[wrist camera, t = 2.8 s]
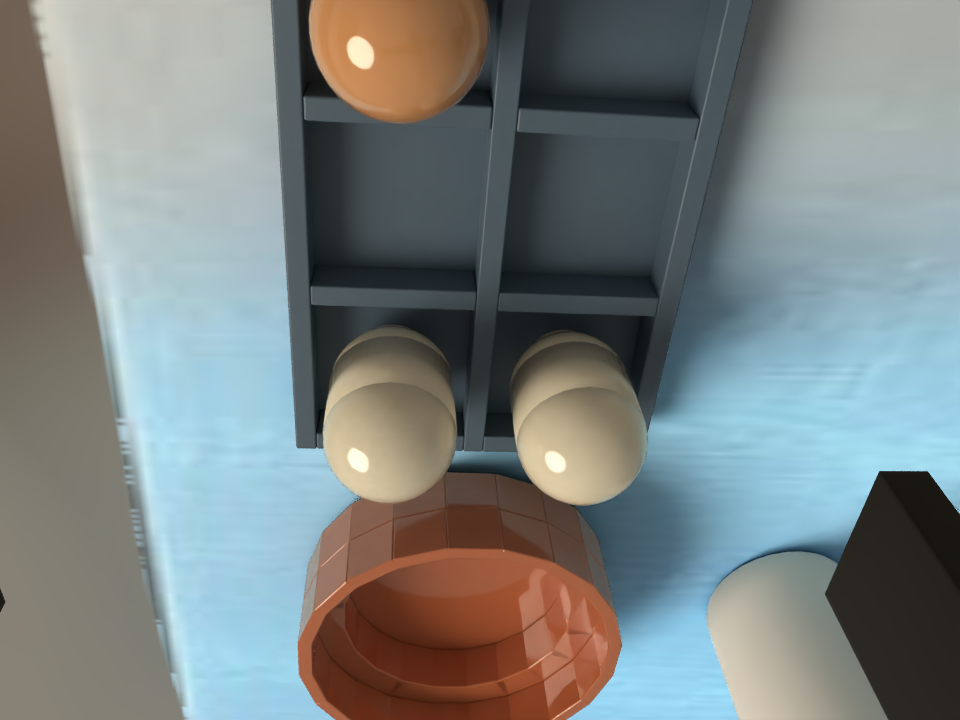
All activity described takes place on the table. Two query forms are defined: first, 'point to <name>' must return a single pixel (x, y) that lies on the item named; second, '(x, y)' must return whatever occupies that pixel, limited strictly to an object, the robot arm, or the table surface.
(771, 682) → the milk bottle
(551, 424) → the cream egg
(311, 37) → the brown egg
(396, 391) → the cream egg
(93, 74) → the table surface
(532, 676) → the bowl
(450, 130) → the egg tray
